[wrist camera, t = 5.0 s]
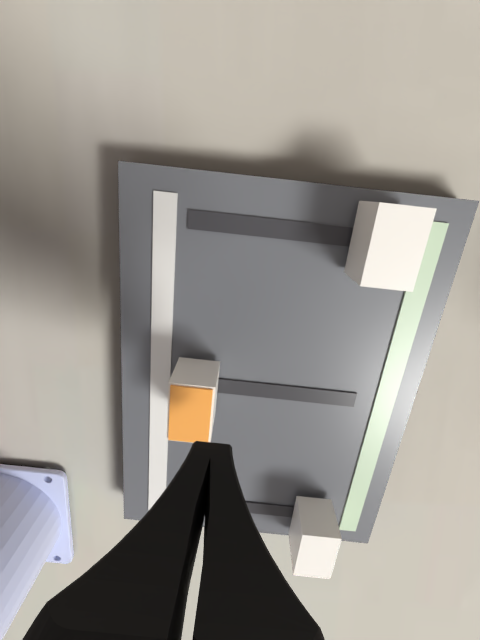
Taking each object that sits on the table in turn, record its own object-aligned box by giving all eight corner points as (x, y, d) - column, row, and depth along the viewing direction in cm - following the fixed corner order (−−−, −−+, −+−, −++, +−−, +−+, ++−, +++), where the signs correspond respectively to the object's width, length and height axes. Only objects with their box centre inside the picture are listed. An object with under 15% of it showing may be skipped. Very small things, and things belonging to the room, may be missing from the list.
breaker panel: (131, 498, 23) (123, 520, 21) (129, 163, 16) (117, 160, 14) (360, 521, 23) (368, 544, 21) (458, 200, 16) (480, 201, 14)
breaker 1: (288, 533, 21) (293, 575, 19) (296, 495, 20) (302, 534, 18) (321, 537, 21) (330, 578, 19) (331, 499, 20) (341, 538, 18)
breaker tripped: (177, 408, 18) (166, 441, 16) (179, 357, 17) (167, 383, 15) (215, 413, 18) (210, 446, 16) (220, 361, 17) (215, 388, 15)
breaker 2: (343, 272, 15) (360, 286, 13) (359, 200, 14) (379, 202, 12) (388, 277, 15) (412, 291, 13) (407, 205, 14) (436, 208, 12)
